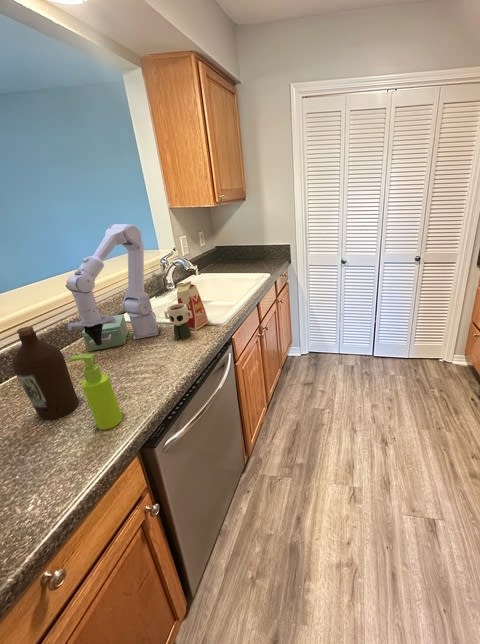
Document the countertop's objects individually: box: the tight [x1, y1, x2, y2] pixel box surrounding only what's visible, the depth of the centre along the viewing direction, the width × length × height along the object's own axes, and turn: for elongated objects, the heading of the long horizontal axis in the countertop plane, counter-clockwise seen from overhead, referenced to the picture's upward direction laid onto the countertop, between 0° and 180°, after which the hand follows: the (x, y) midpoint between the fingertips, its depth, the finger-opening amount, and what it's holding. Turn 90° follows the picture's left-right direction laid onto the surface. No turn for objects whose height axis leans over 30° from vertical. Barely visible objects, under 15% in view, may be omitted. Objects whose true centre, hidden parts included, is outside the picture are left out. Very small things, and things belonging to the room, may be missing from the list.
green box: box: [81, 314, 129, 352], centre depth 129 cm, size 14×13×8 cm
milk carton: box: [175, 280, 210, 331], centre depth 136 cm, size 9×9×20 cm
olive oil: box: [12, 326, 79, 421], centre depth 86 cm, size 11×11×25 cm
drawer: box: [83, 329, 122, 351], centre depth 125 cm, size 17×11×6 cm, turn 21°
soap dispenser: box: [67, 353, 123, 430], centre depth 81 cm, size 6×7×20 cm
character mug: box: [163, 303, 193, 340], centre depth 128 cm, size 11×7×13 cm, turn 89°
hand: (99, 344), depth 116 cm, fingers closed, pressing on drawer
